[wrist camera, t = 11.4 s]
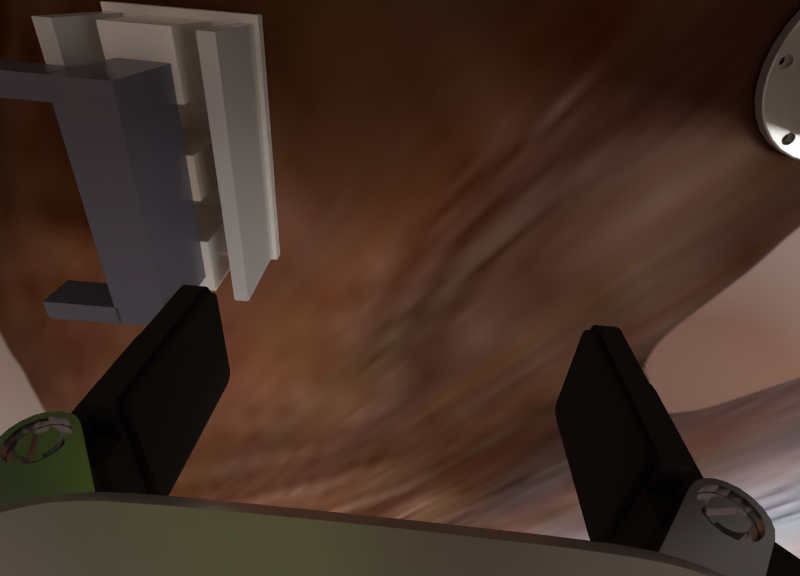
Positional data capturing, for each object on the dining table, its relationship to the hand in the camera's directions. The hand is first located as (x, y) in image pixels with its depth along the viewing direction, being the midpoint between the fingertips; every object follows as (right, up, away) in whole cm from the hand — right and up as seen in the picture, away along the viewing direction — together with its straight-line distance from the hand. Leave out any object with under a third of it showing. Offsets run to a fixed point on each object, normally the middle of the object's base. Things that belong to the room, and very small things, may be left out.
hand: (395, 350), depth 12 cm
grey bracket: (-17, +9, +17) cm, 26 cm away
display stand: (-15, +12, +23) cm, 30 cm away
